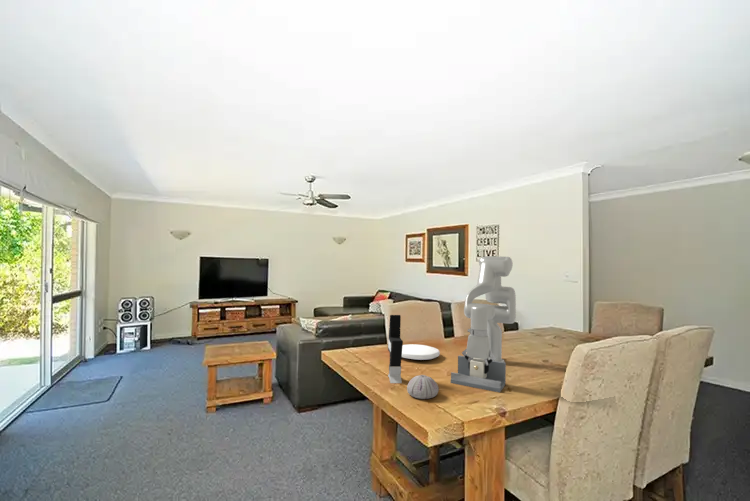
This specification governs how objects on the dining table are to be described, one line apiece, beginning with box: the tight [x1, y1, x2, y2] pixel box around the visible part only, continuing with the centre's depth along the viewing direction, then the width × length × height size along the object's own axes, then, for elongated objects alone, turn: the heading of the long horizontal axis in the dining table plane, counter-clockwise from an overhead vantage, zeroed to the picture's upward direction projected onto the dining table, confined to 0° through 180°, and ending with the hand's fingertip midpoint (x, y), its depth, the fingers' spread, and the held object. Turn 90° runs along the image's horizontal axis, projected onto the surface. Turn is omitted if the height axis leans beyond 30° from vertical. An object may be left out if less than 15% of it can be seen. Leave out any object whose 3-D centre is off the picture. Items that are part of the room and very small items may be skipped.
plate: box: [402, 343, 441, 361], centre depth 213 cm, size 28×6×27 cm
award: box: [387, 314, 404, 384], centre depth 173 cm, size 15×5×30 cm, turn 5°
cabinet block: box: [470, 358, 487, 378], centre depth 168 cm, size 8×6×8 cm
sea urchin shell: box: [406, 374, 440, 400], centre depth 153 cm, size 13×14×8 cm
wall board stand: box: [450, 354, 507, 394], centre depth 168 cm, size 12×22×10 cm, turn 59°
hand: (478, 371), depth 169 cm, fingers open, 6 cm apart
